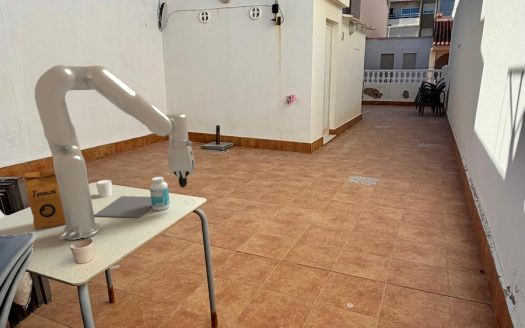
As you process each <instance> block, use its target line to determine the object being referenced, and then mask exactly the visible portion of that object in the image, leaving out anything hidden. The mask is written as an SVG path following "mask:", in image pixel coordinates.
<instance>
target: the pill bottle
mask: <svg viewBox="0 0 525 328" xmlns="http://www.w3.org/2000/svg"><path fill="white" fill-rule="evenodd" d="M151 182H152V183H151V184H150V185H149V191H150V192H149V193H150V197H151V201H152V207H151V209H153V210H154V211H159V212H160V211H164V210H167V209H169V208H170V206H171V203H170V202H171V201H170V194H169V193H170V192H169V187H168V186H169V185H168V182H166V181H165V179H164V177H163V176H156V177H152V179H151Z"/></svg>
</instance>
